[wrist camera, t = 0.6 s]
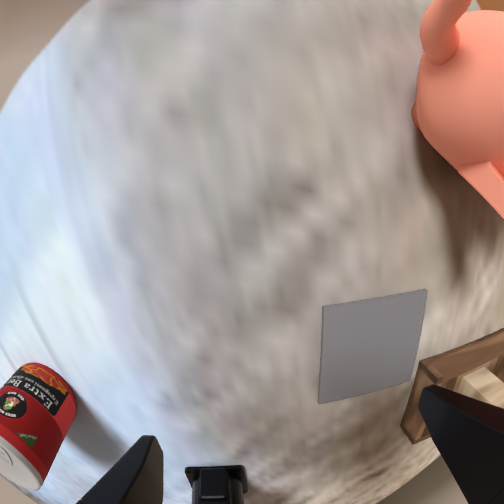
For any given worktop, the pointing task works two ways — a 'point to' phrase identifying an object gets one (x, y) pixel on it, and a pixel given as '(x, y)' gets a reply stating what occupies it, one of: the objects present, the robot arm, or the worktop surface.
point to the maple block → (483, 387)
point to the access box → (452, 375)
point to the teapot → (464, 93)
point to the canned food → (33, 423)
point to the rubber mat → (369, 344)
